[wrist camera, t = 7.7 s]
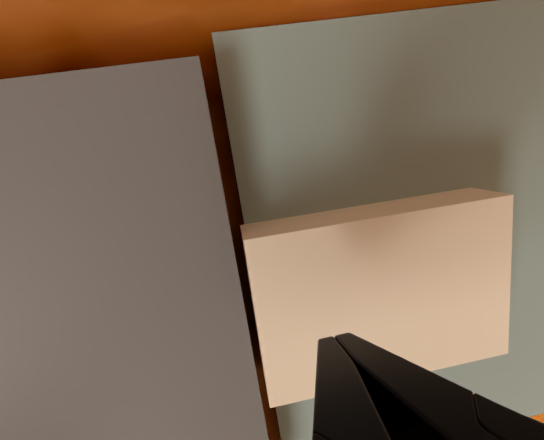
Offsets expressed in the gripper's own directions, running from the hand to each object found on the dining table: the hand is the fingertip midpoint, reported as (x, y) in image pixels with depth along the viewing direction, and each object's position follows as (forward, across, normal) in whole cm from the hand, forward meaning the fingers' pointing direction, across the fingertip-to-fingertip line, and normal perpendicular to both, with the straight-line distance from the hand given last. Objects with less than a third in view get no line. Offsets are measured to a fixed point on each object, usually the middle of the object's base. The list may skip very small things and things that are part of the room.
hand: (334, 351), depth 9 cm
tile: (+3, -3, 0) cm, 4 cm away
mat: (+5, -5, 0) cm, 7 cm away
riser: (+5, +8, 0) cm, 9 cm away
